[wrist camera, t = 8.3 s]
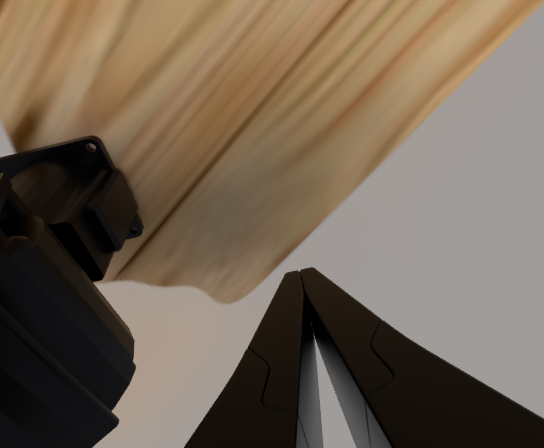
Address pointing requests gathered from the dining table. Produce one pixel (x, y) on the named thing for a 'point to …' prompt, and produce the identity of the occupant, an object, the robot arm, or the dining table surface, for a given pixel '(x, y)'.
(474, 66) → the dining table surface
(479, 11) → the dining table surface
